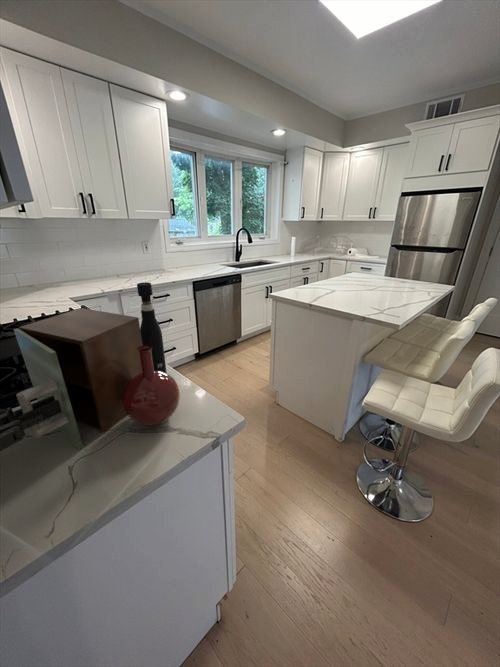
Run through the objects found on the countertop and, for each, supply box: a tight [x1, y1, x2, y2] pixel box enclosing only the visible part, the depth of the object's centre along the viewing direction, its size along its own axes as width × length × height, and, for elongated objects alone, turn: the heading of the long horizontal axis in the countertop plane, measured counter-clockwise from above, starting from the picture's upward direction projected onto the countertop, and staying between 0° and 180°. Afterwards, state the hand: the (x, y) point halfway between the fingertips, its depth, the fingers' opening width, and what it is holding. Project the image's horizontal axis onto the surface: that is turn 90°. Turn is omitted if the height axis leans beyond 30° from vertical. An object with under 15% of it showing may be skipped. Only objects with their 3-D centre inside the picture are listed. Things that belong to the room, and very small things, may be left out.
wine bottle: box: [136, 282, 168, 374], centre depth 84 cm, size 6×6×30 cm
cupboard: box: [18, 307, 143, 434], centre depth 71 cm, size 16×20×24 cm
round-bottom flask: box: [123, 345, 181, 427], centre depth 66 cm, size 13×13×20 cm
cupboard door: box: [13, 327, 84, 451], centre depth 59 cm, size 7×20×24 cm, turn 54°
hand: (57, 403), depth 57 cm, fingers closed on cupboard door, 2 cm apart
